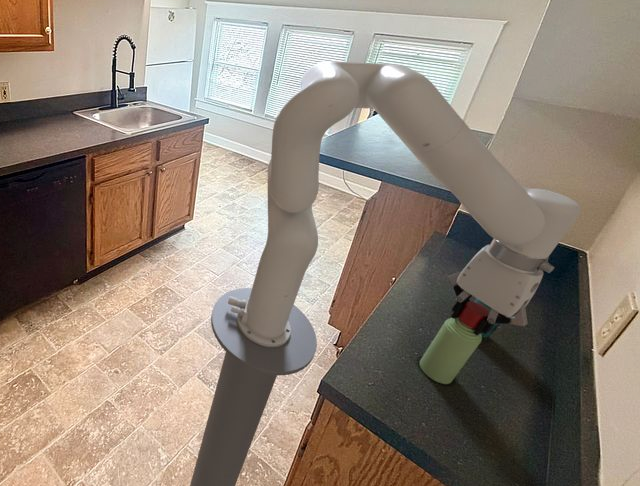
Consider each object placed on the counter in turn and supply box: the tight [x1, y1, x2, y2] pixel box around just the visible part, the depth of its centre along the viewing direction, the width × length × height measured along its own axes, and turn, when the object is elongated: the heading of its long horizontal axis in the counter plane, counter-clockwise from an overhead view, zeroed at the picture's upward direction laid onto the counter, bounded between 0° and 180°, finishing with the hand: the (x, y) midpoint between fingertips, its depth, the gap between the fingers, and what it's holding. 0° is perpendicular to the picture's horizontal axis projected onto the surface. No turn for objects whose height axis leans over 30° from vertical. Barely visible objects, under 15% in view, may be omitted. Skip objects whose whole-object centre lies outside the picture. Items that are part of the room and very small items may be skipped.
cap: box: [458, 300, 490, 329], centre depth 77 cm, size 4×4×4 cm
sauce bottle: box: [419, 317, 483, 385], centre depth 81 cm, size 6×6×18 cm
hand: (467, 323), depth 78 cm, fingers closed on cap, 3 cm apart
